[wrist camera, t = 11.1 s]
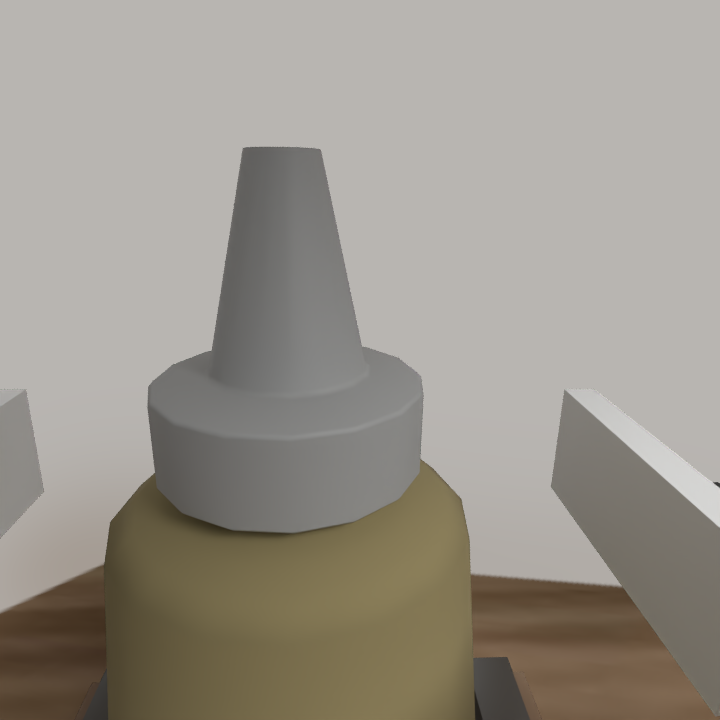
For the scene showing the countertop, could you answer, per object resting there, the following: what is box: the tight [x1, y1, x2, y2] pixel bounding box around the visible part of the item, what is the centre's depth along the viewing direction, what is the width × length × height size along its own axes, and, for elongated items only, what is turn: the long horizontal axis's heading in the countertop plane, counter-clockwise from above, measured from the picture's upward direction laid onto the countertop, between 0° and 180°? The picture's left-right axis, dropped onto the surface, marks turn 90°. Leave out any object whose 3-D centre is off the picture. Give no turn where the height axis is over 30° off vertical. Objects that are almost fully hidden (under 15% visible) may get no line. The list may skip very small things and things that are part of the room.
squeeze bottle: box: [104, 147, 475, 720], centre depth 11 cm, size 8×8×18 cm
